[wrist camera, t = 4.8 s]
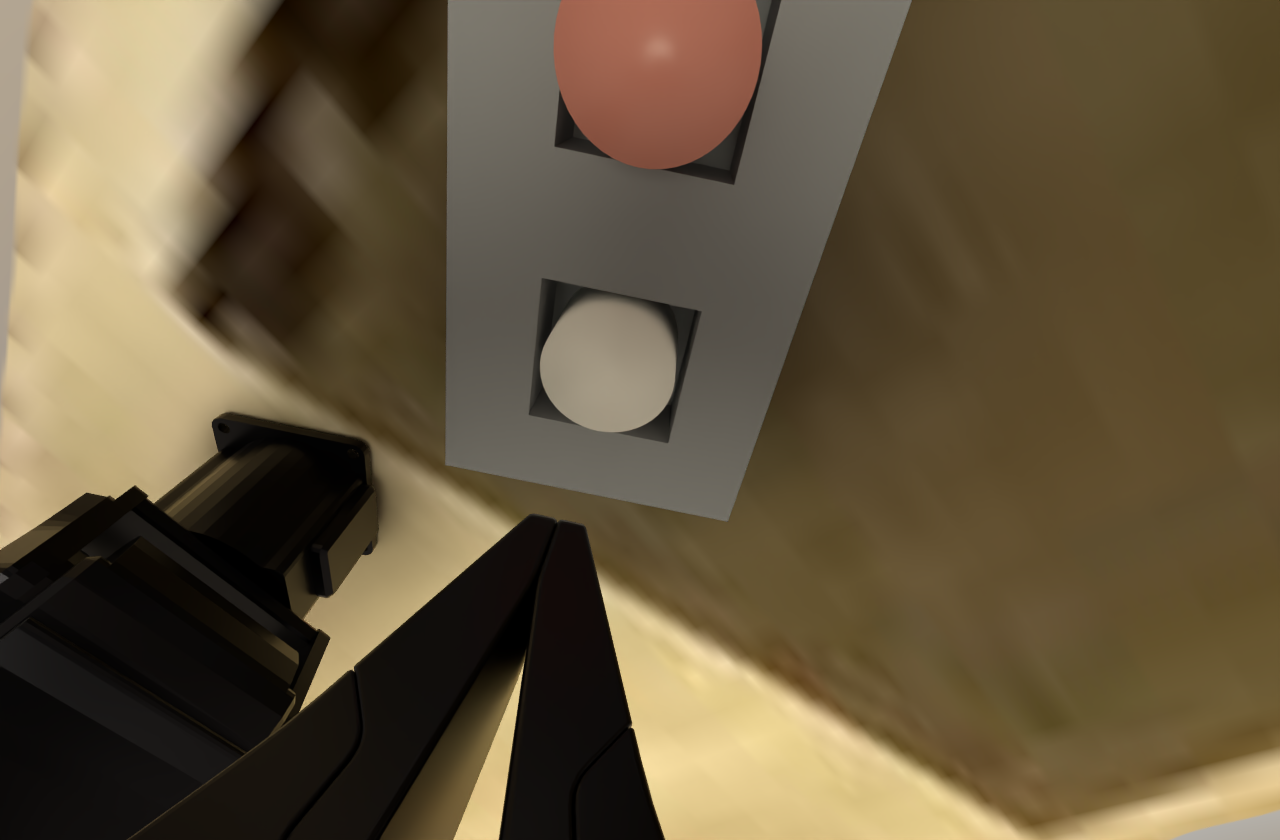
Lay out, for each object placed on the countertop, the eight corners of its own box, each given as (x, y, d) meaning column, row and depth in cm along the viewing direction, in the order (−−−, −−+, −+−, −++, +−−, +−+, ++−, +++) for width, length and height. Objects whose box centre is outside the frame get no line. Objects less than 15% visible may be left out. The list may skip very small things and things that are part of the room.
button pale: (554, 374, 20) (534, 418, 18) (567, 265, 18) (546, 296, 16) (664, 397, 21) (659, 443, 18) (690, 290, 18) (688, 326, 16)
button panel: (482, 407, 23) (445, 464, 20) (541, -895, 10) (455, -1421, 6) (723, 456, 24) (727, 521, 20) (1112, -752, 10) (1329, -1183, 6)
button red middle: (571, 134, 15) (544, 147, 12) (592, -67, 13) (565, -102, 10) (724, 166, 15) (729, 187, 12) (772, -27, 13) (791, -52, 10)
